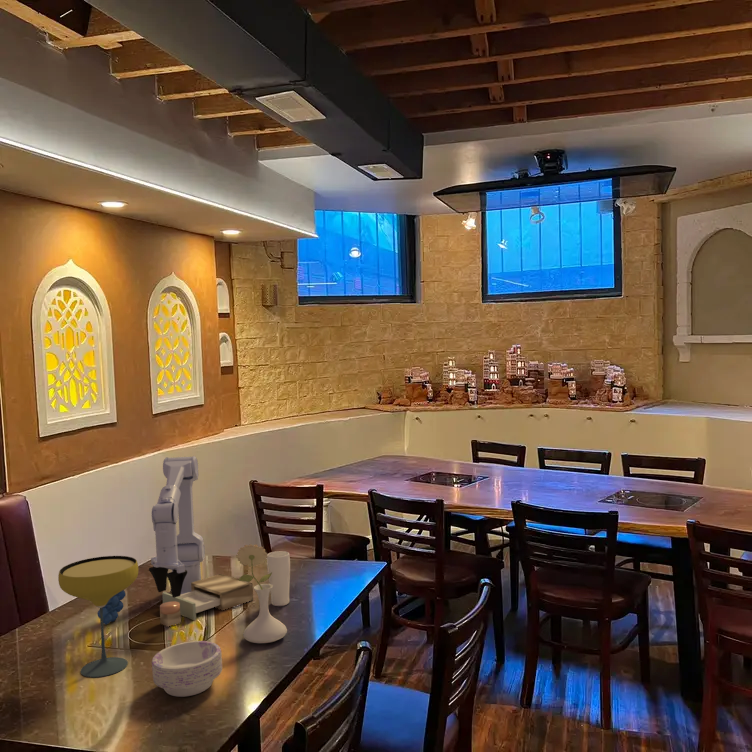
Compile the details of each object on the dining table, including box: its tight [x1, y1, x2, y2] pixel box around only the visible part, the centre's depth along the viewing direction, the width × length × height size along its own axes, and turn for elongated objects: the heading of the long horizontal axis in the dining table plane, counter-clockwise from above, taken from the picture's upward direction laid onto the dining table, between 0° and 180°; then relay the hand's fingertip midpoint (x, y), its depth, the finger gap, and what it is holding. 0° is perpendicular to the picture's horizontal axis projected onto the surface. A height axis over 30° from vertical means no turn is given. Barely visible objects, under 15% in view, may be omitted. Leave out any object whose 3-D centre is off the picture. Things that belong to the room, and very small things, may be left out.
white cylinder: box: [266, 550, 291, 607], centre depth 216 cm, size 7×7×15 cm
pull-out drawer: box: [161, 590, 220, 621], centre depth 215 cm, size 16×10×5 cm, turn 47°
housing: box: [191, 573, 254, 611], centre depth 222 cm, size 16×11×5 cm
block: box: [159, 611, 182, 628], centre depth 204 cm, size 4×4×4 cm
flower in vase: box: [235, 543, 288, 644], centre depth 190 cm, size 13×11×25 cm
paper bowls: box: [151, 640, 223, 698], centre depth 163 cm, size 15×15×8 cm
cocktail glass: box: [57, 555, 139, 679], centre depth 176 cm, size 18×18×25 cm
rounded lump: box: [159, 601, 180, 615], centre depth 204 cm, size 5×5×2 cm
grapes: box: [97, 589, 127, 625], centre depth 207 cm, size 12×7×12 cm, turn 165°
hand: (169, 593), depth 204 cm, fingers open, 7 cm apart
